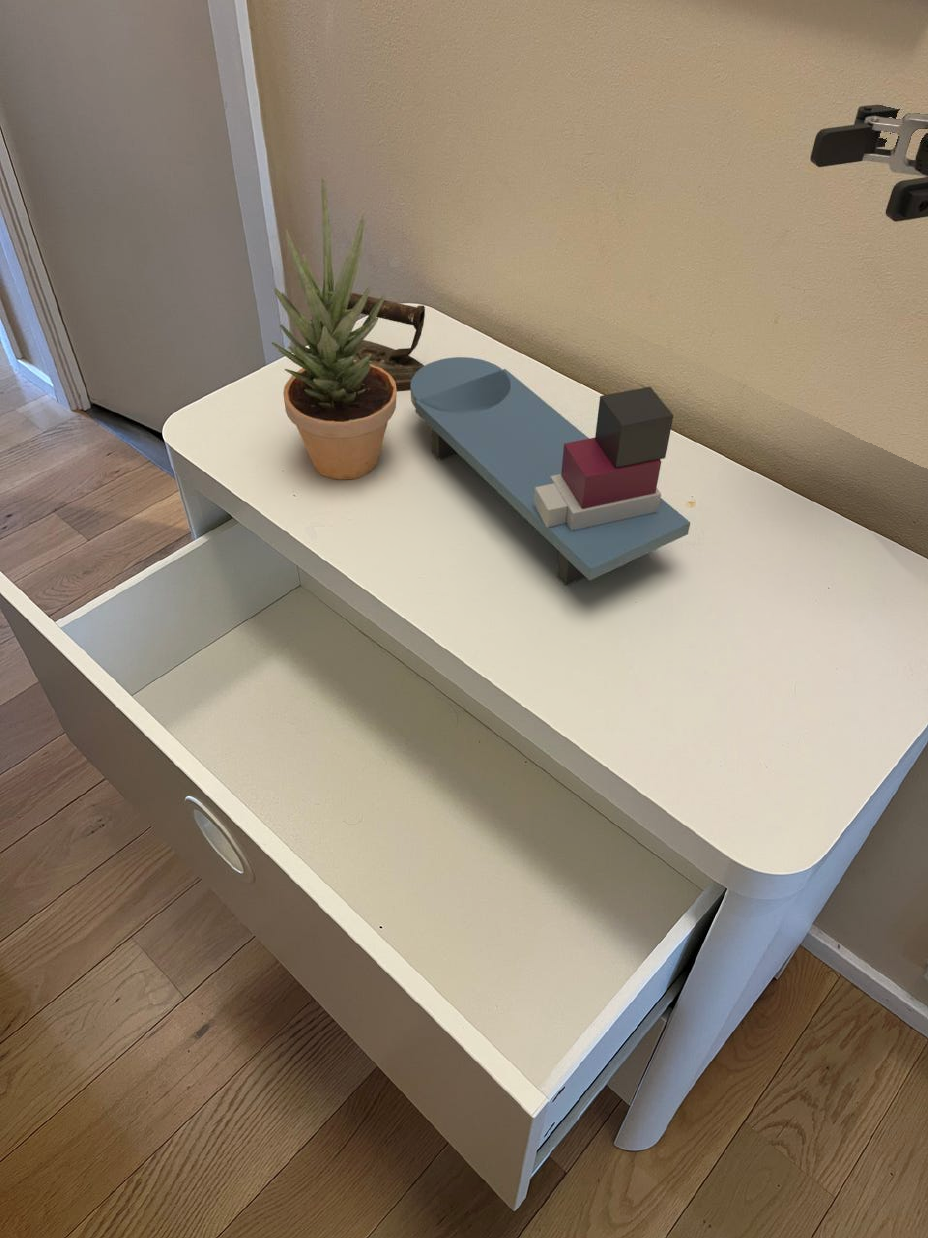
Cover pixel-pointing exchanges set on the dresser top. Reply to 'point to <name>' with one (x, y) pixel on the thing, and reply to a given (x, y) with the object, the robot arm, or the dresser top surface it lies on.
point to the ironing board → (527, 459)
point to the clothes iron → (389, 358)
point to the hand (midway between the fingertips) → (852, 174)
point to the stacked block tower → (611, 465)
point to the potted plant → (335, 368)
